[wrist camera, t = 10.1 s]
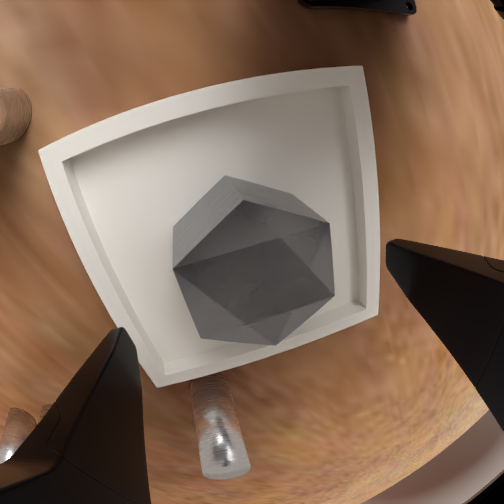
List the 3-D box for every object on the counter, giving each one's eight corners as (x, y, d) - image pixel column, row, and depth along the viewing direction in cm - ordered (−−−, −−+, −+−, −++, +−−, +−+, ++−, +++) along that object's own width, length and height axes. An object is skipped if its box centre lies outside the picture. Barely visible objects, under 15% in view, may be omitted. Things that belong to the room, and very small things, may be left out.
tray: (343, 68, 11) (362, 65, 10) (365, 299, 17) (378, 314, 16) (52, 145, 10) (38, 150, 8) (156, 368, 16) (157, 387, 14)
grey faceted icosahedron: (285, 160, 12) (324, 179, 9) (304, 279, 14) (336, 324, 11) (162, 193, 11) (156, 225, 8) (202, 310, 14) (212, 364, 11)
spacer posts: (111, 37, 8) (60, -19, 3) (233, 391, 18) (255, 472, 13) (-117, 206, 7) (-170, 246, 1) (22, 426, 16) (10, 485, 11)
